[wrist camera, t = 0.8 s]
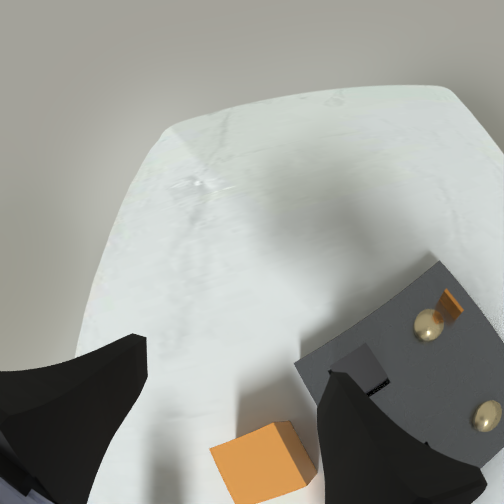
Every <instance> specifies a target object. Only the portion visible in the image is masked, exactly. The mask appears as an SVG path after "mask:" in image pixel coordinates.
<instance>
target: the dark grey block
mask: <svg viewBox="0 0 504 504" xmlns="http://www.w3.org/2000/svg"><path fill="white" fill-rule="evenodd" d="M330 368H331V370H332V371H333V372H345V373H347V374H348V375H349V376H350V377H351V378H352V379H353V380H354V381H355V382H356V383H357V384H358V385H359V387H360V388H361V389H362V390H363V391H364V392H365V393H366V394H367V393H368V392H370V391H371V390H373V389H374V388H376V387H377V386H379V385H380V384H382V383H383V382H384V381H385V380H386V379H387V377H388V375H387V374H386V372H385V371H384V369H383V368H382V366H381V365H380V363H379V362H378V360H377V358H376V357H375V355H374V354H373V352H372V351H371V349H370V348H369V346H368V345H367V343H364V344H363V345H361V346H360V347H358V348H357V349H355V350H354V351H352V352H351V353H349V354H348V355H346V356H345V357H343V358H341V359H340V360H338V361H337V362H335V363H333V364H332V365H330Z"/></svg>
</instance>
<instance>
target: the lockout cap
mask: <svg viewBox="0 0 504 504" xmlns="http://www.w3.org/2000/svg"><path fill="white" fill-rule="evenodd" d="M210 452H211V454H212V456H213V459H214V461H215V463H216V465H217V468H218V470H219V472H220V474H221V476H222V478H223V480H224V483H225V485H226V487H227V489H228V491H229V493H230V495H231V497H232V499H233V501H234V503H235V504H256V503H260V502H263V501H266V500H269V499H272V498H275V497H278V496H281V495H284V494H287V493H290V492H293V491H295V490H298V489H300V488H303V487H305V486H307V485H308V484H309V483H310V482H311V480H312V479H313V478H314V477H315V475H316V474H317V473H318V472H317V470H316V469H315V467H314V465H313V463H312V461H311V460H310V458H309V456H308V454H307V452H306V450H305V449H304V447H303V445H302V443H301V441H300V439H299V437H298V435H297V434H296V432H295V430H294V428H293V426H292V424H291V422H290V421H283V422H273V423H271V424H269V425H267V426H264V427H262V428H260V429H258V430H255V431H253V432H251V433H248V434H246V435H244V436H241V437H239V438H236V439H234V440H231V441H229V442H226V443H223V444H221V445H218V446H215V447H213V448H210Z"/></svg>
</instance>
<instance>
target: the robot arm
mask: <svg viewBox="0 0 504 504" xmlns="http://www.w3.org/2000/svg"><path fill="white" fill-rule="evenodd" d="M147 377H148V372H147V344H146V337H143V336H140V335H136V334H133V333H132V334H130V335H127V336H125V337H123V338H121V339H119V340H117V341H114V342H112V343H110V344H108V345H106V346H104V347H101V348H99V349H97V350H95V351H92V352H90V353H87V354H85V355H82V356H80V357H77V358H74V359H72V360H69V361H66V362H62V363H59V364H55V365H51V366H47V367H42V368H37V369H29V370H22V371H2V372H1V371H0V504H87V501H88V498H89V494H90V491H91V488H92V485H93V482H94V480H95V477H96V474H97V472H98V469H99V467H100V464H101V462H102V459H103V457H104V455H105V453H106V450H107V448H108V446H109V444H110V442H111V440H112V438H113V436H114V435H115V433H116V431H117V430H118V428H119V427H120V425H121V424H122V422H123V420H124V419H125V417H126V416H127V414H128V413H129V411H130V410H131V408H132V407H133V405H134V403H135V402H136V400H137V399H138V397H139V395H140V393H141V391H142V389H143V387H144V384H145V382H146V380H147ZM317 430H318V437H319V443H320V450H321V456H322V462H323V469H324V476H325V504H471V503H472V502H473V501H475V500H476V499H477V498H478V497H479V496H480V495H481V494H482V493H483V492H484V490H485V488H486V486H487V482H486V480H485V478H484V476H483V474H482V472H481V470H480V468H479V467H477V466H474V465H470V464H467V463H464V462H461V461H458V460H455V459H453V458H450V457H448V456H446V455H444V454H441V453H440V452H438V451H436V450H434V449H432V448H430V447H428V446H427V445H425V444H423V443H422V442H420V441H419V440H417V439H416V438H414V437H413V436H411V435H410V434H409V433H407V432H406V431H405V430H403V429H402V428H401V427H399V426H398V425H397V424H396V423H395V422H394V421H392V420H391V419H390V418H389V417H388V416H387V415H386V414H385V413H384V412H383V411H382V410H381V409H380V408H379V407H378V406H377V405H376V404H375V403H374V402H373V401H372V400H371V399H370V398H369V397H368V396H367V394H366V393H365V392H364V391H363V390H362V389H361V388H360V387H359V385H358V384H357V383H356V382H355V381H354V380H353V379H352V378H351V377H350V376H349V375H348V374H347V373H345V372H333V371H332V372H331V375H330V378H329V380H328V383H327V385H326V388H325V390H324V393H323V395H322V398H321V400H320V403H319V405H318V407H317Z"/></svg>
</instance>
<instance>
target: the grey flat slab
mask: <svg viewBox="0 0 504 504" xmlns="http://www.w3.org/2000/svg"><path fill="white" fill-rule="evenodd" d="M364 343H367V345H368V346H369V348H370V349H371V351H372V352H373V354H374V355H375V357H376V358H377V360H378V362H379V363H380V365H381V366H382V368H383V369H384V371H385V372H386V374H387V375H388V377H387V379H386V380H385V381H386V382H387V384H388V385H387V386H385V387H384V388H382V389H381V390H379V391H378V392H376V393H375V394H373V395H372V396H370V397H369V398H370V399H371V400H372V401H373V402H374V403H375V404H376V405H377V406H378V407H379V408H380V409H381V410H382V411H383V412H384V413H385V414H386V415H387V416H388V417H389V418H390V419H391V420H392V421H394V422H395V423H396V424H397V425H398V426H399V427H401V428H402V429H403V430H405V431H406V432H407V433H409V434H410V435H411V436H413V437H414V438H416V439H417V440H419V441H420V442H422V443H423V444H425V445H427V446H428V447H430V448H432V449H434V450H436V451H438V452H440V453H441V454H444V455H446V456H448V457H450V458H453V459H455V460H458V461H461V462H464V463H467V464H470V465H474V466H477V467H479V468H481V467H483V466H484V465H485V464H486V463H487V462H488V461H489V460H490V459H491V458H493V457H494V456H495V455H496V454H497V453H498V452H499V451H500V450H501V449H502V448H503V447H504V343H503V341H502V340H501V338H500V337H499V336H498V334H497V333H496V331H495V330H494V328H493V327H492V325H491V324H490V323H489V321H488V320H487V318H486V317H485V316H484V314H483V313H482V312H481V310H480V309H479V308H478V306H477V305H476V304H475V302H474V301H473V300H472V299H471V297H470V296H469V295H468V294H467V292H466V291H465V290H464V289H463V287H462V286H461V285H460V284H459V282H458V281H457V280H456V279H455V278H454V277H453V275H452V274H451V273H450V272H449V271H448V270H447V268H446V267H445V266H444V265H443V264H442V263H441V262H440V261H438V262H437V263H436V264H435V265H434V266H433V267H431V268H430V269H429V270H428V271H427V272H425V273H424V274H423V275H422V276H421V277H419V278H418V279H417V280H416V281H414V282H413V283H412V284H411V285H409V286H408V287H407V288H405V289H404V290H403V291H402V292H400V293H399V294H398V295H396V296H395V297H394V298H392V299H391V300H390V301H388V302H387V303H386V304H384V305H383V306H382V307H380V308H379V309H377V310H376V311H375V312H373V313H372V314H370V315H369V316H367V317H366V318H365V319H363V320H362V321H360V322H359V323H357V324H356V325H354V326H353V327H351V328H350V329H348V330H347V331H345V332H344V333H342V334H341V335H339V336H338V337H336V338H335V339H333V340H331V341H330V342H328V343H327V344H325V345H323V346H322V347H320V348H319V349H317V350H315V351H314V352H312V353H310V354H309V355H307V356H305V357H304V358H302V359H300V360H298V361H297V362H295V363H294V365H295V367H296V369H297V370H298V372H299V374H300V376H301V378H302V379H303V381H304V383H305V385H306V387H307V389H308V390H309V392H310V394H311V396H312V398H313V399H314V401H315V403H316V405H317V407H318V405H319V403H320V400H321V398H322V395H323V393H324V390H325V388H326V385H327V383H328V380H329V378H330V375H331V372H332V370H331V368H330V365H332V364H333V363H335V362H337V361H338V360H340V359H341V358H343V357H345V356H346V355H348V354H349V353H351V352H352V351H354V350H355V349H357V348H358V347H360V346H361V345H363V344H364Z"/></svg>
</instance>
